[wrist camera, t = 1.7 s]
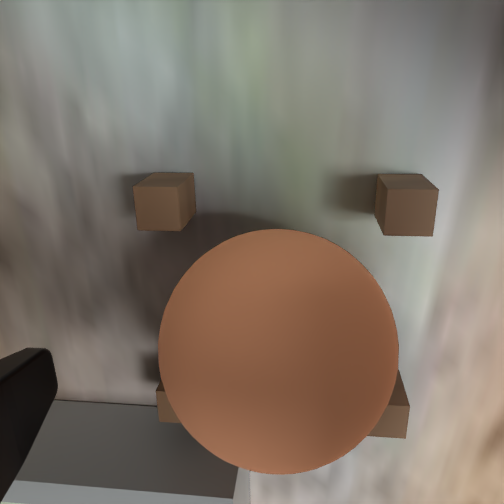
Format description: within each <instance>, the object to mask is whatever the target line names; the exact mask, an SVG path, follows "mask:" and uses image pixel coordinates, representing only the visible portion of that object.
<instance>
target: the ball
mask: <svg viewBox="0 0 504 504" xmlns="http://www.w3.org/2000/svg"><path fill="white" fill-rule="evenodd" d="M398 354H399V344H398V336H397V329H396V325H395V321H394V317H393V314H392V310H391V308H390V306H389V304H388V301H387V299H386V297H385V295H384V293H383V291H382V289H381V288H380V286H379V285H378V283H377V282H376V280H375V279H374V277H373V276H372V275H371V274H370V273H369V271H368V270H367V269H366V268H365V267H364V266H363V265H362V264H361V263H360V262H359V261H358V260H357V259H356V258H354V257H353V256H352V255H351V254H350V253H349V252H347V251H346V250H344V249H343V248H341V247H340V246H338V245H336V244H334V243H332V242H330V241H328V240H326V239H324V238H322V237H319V236H316V235H313V234H310V233H306V232H301V231H296V230H287V229H264V230H258V231H252V232H248V233H244V234H241V235H238V236H235V237H233V238H230V239H228V240H226V241H224V242H222V243H220V244H219V245H217V246H216V247H214V248H212V249H211V250H209V251H208V252H206V253H205V254H204V255H203V256H201V257H200V258H199V259H198V260H197V261H195V263H194V264H193V265H192V266H191V267H190V268H189V269H188V270H187V272H186V273H185V274H184V275H183V276H182V278H181V279H180V281H179V282H178V284H177V285H176V287H175V288H174V290H173V292H172V295H171V297H170V299H169V301H168V303H167V306H166V308H165V311H164V314H163V318H162V321H161V326H160V332H159V341H158V356H159V369H160V374H161V379H162V383H163V386H164V389H165V392H166V395H167V398H168V400H169V402H170V404H171V406H172V408H173V410H174V412H175V414H176V415H177V417H178V419H179V420H180V422H181V423H182V425H183V426H184V427H185V429H186V430H187V431H188V432H189V433H190V434H191V436H192V437H193V438H195V439H196V440H197V441H198V442H199V443H200V444H201V445H202V446H203V447H205V448H206V449H207V450H208V451H210V452H211V453H213V454H214V455H215V456H217V457H219V458H220V459H222V460H224V461H226V462H228V463H230V464H232V465H235V466H237V467H240V468H243V469H246V470H250V471H254V472H259V473H266V474H295V473H301V472H306V471H310V470H313V469H317V468H319V467H322V466H324V465H327V464H329V463H331V462H333V461H335V460H337V459H339V458H340V457H342V456H344V455H345V454H347V453H348V452H349V451H351V450H352V449H353V448H355V447H356V446H357V445H358V444H359V443H360V442H361V441H362V440H363V439H364V438H365V437H366V436H367V435H368V434H369V433H370V432H371V431H372V429H373V428H374V427H375V425H376V424H377V423H378V421H379V419H380V417H381V416H382V414H383V412H384V410H385V409H386V407H387V405H388V403H389V400H390V397H391V395H392V392H393V389H394V385H395V381H396V376H397V371H398Z"/></svg>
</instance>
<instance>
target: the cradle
mask: <svg viewBox="0 0 504 504" xmlns="http://www.w3.org/2000/svg"><path fill="white" fill-rule="evenodd" d="M438 192H439V189H438V188H436V187H435V186H434V185H433V184H432V183H431V182H430V181H429V180H428V179H426V178H425V177H424V176H423V175H422V174H378V176H377V188H376V200H375V212H374V216H375V218H376V220H377V222H378V224H379V226H380V229H381V231H382V233H383V235H387V236H433V230H434V222H435V215H436V207H437V200H438ZM133 194H134V203H135V211H136V220H137V229H138V230H146V231H182V229H183V228H184V227H185V226H186V224H187V223H188V222H189V221H190V219H191V218H192V217H193V216H194V214H195V213H196V202H195V186H194V173H153V174H151V175H150V176H148V177H147V178H145V179H144V180H142V181H141V182H139V183H137V184H136V185H134V186H133ZM156 398H157V406H158V415H159V422H170V423H181V422H180V420H179V419H178V417H177V415H176V414H175V412H174V410H173V408H172V406H171V404H170V402H169V400H168V398H167V395H166V392H165V389H164V386H163V383H162V379H161V381H160V383H159V385H158V387H157V390H156ZM409 410H410V405H409V402H408V398H407V395H406V392H405V389H404V385H403V382H402V379H401V376H400V372H399V370H398V371H397V376H396V381H395V385H394V389H393V392H392V395H391V397H390V400H389V403H388V405H387V407H386V409H385V410H384V412H383V414H382V416H381V417H380V419H379V421H378V423H377V424H376V425H375V427H374V428H373V429H372V431H371V432H370V433H369V434H368V435H367V436H376V437H391V438H405V439H406V432H407V425H408V417H409Z"/></svg>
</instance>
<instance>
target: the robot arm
mask: <svg viewBox="0 0 504 504" xmlns="http://www.w3.org/2000/svg"><path fill="white" fill-rule="evenodd" d="M57 388H58V383H57V377H56V372H55V368H54V363H53V358H52V354H51V352H50V351H49V350H48V349H46V348H26V349H23V350H21V351H19V352H16V353H14V354H12V355H9V356H7V357H5V358H2V359H0V503H1V502H2V500H3V498H4V497H5V495H6V493H7V492H8V490H9V488H10V486H11V485H12V483H13V481H14V480H15V478H16V476H17V475H18V473H19V471H20V469H21V467H22V466H23V464H24V462H25V460H26V458H27V456H28V454H29V452H30V450H31V447H32V445H33V443H34V441H35V439H36V437H37V435H38V433H39V430H40V428H41V426H42V424H43V422H44V420H45V418H46V416H47V413H48V411H49V409H50V407H51V405H52V403H53V401H54V399H55V396H56V393H57Z"/></svg>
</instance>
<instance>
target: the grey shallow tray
mask: <svg viewBox="0 0 504 504" xmlns="http://www.w3.org/2000/svg"><path fill="white" fill-rule="evenodd" d="M0 504H250V470H246V469H243V468H240V467H237V466H235V465H232V464H230V463H228V462H226V461H224V460H222V459H220V458H219V457H217V456H215V455H214V454H213V453H211V452H210V451H208V450H207V449H206V448H205V447H203V446H202V445H201V444H200V443H199V442H198V441H197V440H196V439H195V438H193V437H192V436H191V434H190V433H189V432H188V431H187V430H186V429H185V427H184V426H183V425H182V423H170V422H159V415H158V407H153V406H138V405H122V404H106V403H91V402H75V401H60V400H54V401H53V403H52V405H51V407H50V409H49V411H48V413H47V416H46V418H45V420H44V422H43V424H42V426H41V428H40V430H39V433H38V435H37V437H36V439H35V441H34V443H33V445H32V447H31V450H30V452H29V454H28V456H27V458H26V460H25V462H24V464H23V466H22V467H21V469H20V471H19V473H18V475H17V476H16V478H15V480H14V481H13V483H12V485H11V486H10V488H9V490H8V492H7V493H6V495H5V497H4V498H3V500H2V502H1V503H0Z"/></svg>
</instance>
